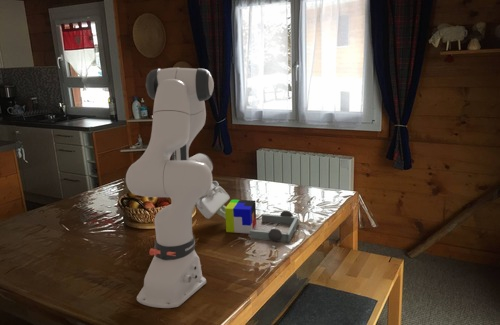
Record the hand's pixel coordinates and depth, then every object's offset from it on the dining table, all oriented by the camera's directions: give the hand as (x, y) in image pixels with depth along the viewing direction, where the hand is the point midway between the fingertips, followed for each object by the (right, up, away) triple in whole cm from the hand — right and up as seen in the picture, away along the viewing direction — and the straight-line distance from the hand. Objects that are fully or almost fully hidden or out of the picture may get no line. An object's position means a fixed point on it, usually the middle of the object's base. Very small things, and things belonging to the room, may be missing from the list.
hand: (227, 216), depth 173 cm
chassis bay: (+18, -5, -5) cm, 20 cm away
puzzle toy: (+6, -5, -1) cm, 7 cm away
